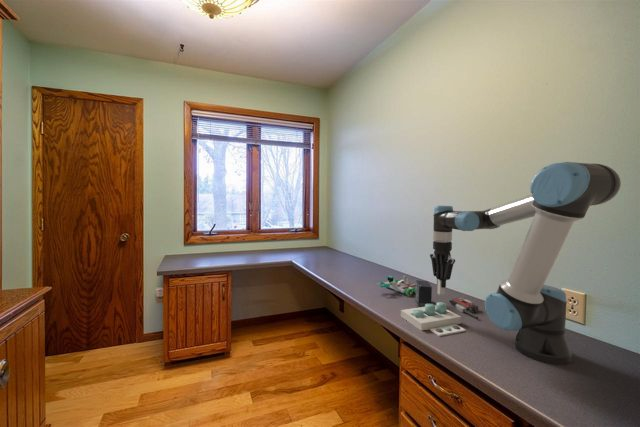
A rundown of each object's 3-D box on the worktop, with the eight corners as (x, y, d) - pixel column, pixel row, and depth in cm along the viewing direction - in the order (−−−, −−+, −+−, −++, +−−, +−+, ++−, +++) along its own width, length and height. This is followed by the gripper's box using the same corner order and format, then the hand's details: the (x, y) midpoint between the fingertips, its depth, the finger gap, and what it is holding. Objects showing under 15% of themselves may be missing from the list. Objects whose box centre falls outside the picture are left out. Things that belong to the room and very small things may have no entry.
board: (460, 323, 117) (461, 316, 117) (421, 330, 111) (421, 323, 111) (437, 311, 130) (437, 304, 130) (400, 316, 124) (400, 310, 124)
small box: (432, 308, 134) (432, 286, 133) (418, 307, 135) (418, 286, 135) (428, 300, 144) (428, 280, 144) (415, 299, 146) (415, 279, 145)
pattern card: (465, 331, 110) (465, 329, 110) (439, 336, 106) (439, 333, 106) (456, 325, 115) (456, 323, 115) (430, 330, 111) (430, 328, 111)
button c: (425, 322, 117) (425, 312, 117) (417, 323, 116) (417, 314, 116) (419, 318, 121) (419, 309, 121) (411, 319, 120) (411, 310, 120)
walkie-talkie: (445, 304, 140) (475, 320, 121) (445, 295, 140) (475, 311, 120) (460, 302, 142) (492, 318, 122) (460, 294, 142) (492, 309, 122)
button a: (448, 313, 121) (448, 304, 121) (440, 315, 120) (440, 306, 119) (441, 310, 125) (441, 301, 125) (434, 311, 124) (434, 302, 123)
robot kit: (368, 291, 160) (368, 275, 160) (400, 284, 172) (400, 269, 172) (391, 301, 144) (391, 283, 143) (424, 293, 156) (425, 276, 156)
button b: (437, 315, 119) (437, 306, 119) (429, 316, 118) (429, 307, 118) (430, 311, 123) (430, 303, 123) (422, 313, 122) (422, 304, 122)
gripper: (461, 242, 116) (459, 298, 117) (438, 238, 128) (437, 288, 130) (446, 243, 113) (445, 300, 115) (425, 239, 126) (424, 290, 127)
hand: (441, 293), depth 122 cm, fingers closed
